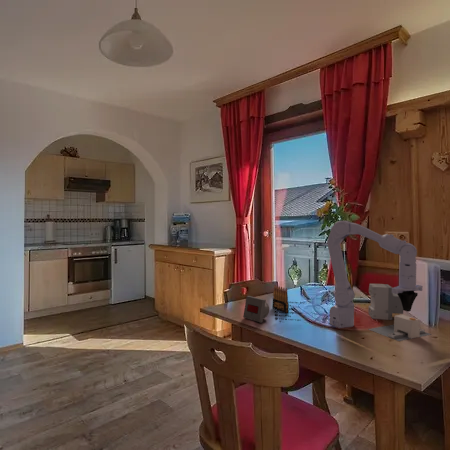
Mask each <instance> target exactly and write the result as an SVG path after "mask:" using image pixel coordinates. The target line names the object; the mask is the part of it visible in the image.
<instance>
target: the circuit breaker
mask: <svg viewBox="0 0 450 450" xmlns="http://www.w3.org/2000/svg"><path fill="white" fill-rule="evenodd" d="M392 288H393V286H391V285H389V284H388V283H387V284H384V283H369V286H368V293H369V296H370V305H368V310H367V311H368V315H369V317H371V319H374V320H385V321H386V320H387V321H389V320H390V321H393V314H396V315H404V310H403V306H402V303H401V300H400V298H399V296H398V294H394V293H392Z"/></svg>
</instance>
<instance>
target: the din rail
mask: <svg viewBox="0 0 450 450" xmlns="http://www.w3.org/2000/svg"><path fill="white" fill-rule="evenodd" d="M425 332H426V331H425V329H423V328H420V333H425ZM405 336H408V333H407V332H404V331H400V332H394V333H389V334H388V337H387V338H389V337H391V338H390V339H392V338H393V339H392V340H394V339H395V338H400V337H405Z"/></svg>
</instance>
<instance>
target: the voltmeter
mask: <svg viewBox="0 0 450 450" xmlns="http://www.w3.org/2000/svg"><path fill="white" fill-rule="evenodd" d="M275 302H277V300H275ZM281 302H282V301H281ZM282 303H284V301H283V302H282ZM286 303H287V302H286ZM288 303H289V305H288V306H289V312H280V311H278V310H277V307H275V309H274V316H275V317H274V320H275V321H277V320H278V319H279V321H278V322H279V323H280V324H281V323H285V321H287V320H288V321H292V318H291V317H292V316H291V315H290V314H292V315H293V314H296V315H297V314H299V315H303V312H297V311H296V312H292V311H294V308H290V307H292V305H291V304H305V302H301V301H300V302H298V301H288ZM276 306H278V305H276ZM279 306H280V304H279ZM281 306H283V305H281ZM285 306H287V305H285ZM281 309H283V308H281ZM287 310H288V308H287ZM269 313H270V306H269V303H268V302H267V301H266V299H263V298H259V297H255V296H251V295H246V298H245V303H244V310H243V316H242V317H243V318H244V319H247V320H250V321H254V322H257V323H263V322H264V319H265V318H268V317H267V316H268V315H269ZM278 313H279V314H278ZM280 313H281V314H282V317H289V318H282V317H281V314H280ZM285 313H287V314H289V315H287V314H285ZM283 314H284V315H283ZM278 316H279V318H278ZM280 317H281V318H280ZM282 320H283V321H282ZM284 320H285V321H284ZM294 320H295V321H297V322H299V321H300V322H301V319H298V318H297V319H294Z"/></svg>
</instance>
